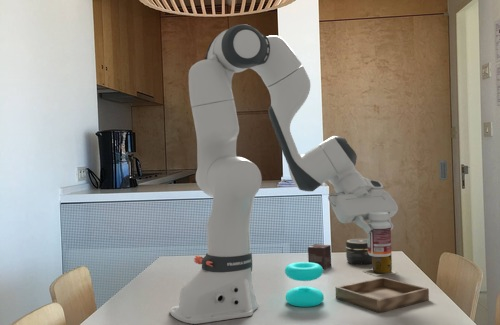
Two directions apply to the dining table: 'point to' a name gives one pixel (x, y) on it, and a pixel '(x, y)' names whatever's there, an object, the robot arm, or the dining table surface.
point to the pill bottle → (379, 235)
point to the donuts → (304, 294)
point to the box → (320, 255)
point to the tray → (382, 294)
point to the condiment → (381, 266)
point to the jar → (358, 252)
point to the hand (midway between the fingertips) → (380, 230)
